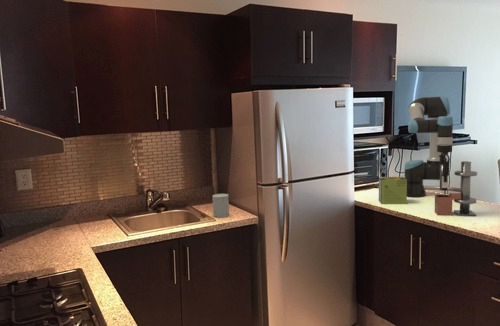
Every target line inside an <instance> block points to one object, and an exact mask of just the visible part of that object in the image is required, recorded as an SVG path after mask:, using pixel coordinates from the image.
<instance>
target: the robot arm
mask: <svg viewBox="0 0 500 326" xmlns="http://www.w3.org/2000/svg"><path fill="white" fill-rule="evenodd" d="M407 108H408V109H407V111H408V115H410V120H408V123H407V125H408V126H407V129H408V133H410V134H429V154H428V155H429V156H428V158H427V159H426V161H425V162H424V159H414V160H408V161H406V162H405V163H404V168H403V170H404V178H406V179H407V197H408V198H409V197H410V198H423V197H426V195H427V194H426V189H425V186H424V181H426V180H427V181H428V180H431V181H440V164H443V175H441V176H442V188H449V176H450V159H451V158H450V155H449V153H452V152H453V142H454V140H453V138H454V137H453V132H454V131H453V128H454V127H453V126H454V119H453V116H451V115H450V114H451V107H450V102H449V99H448V96H425V97H419V98H416V99H414V100H413V101H412V102H411V103H410V104H409V105H408V107H407ZM449 115H450V116H449ZM425 116H427V119H425Z"/></svg>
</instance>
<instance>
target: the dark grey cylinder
mask: <svg viewBox="0 0 500 326" xmlns="http://www.w3.org/2000/svg"><path fill="white" fill-rule="evenodd" d="M441 175H443V164H440V180H439V191H448V188H449V187H448V188H442V176H441Z"/></svg>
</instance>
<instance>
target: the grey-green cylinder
mask: <svg viewBox="0 0 500 326" xmlns="http://www.w3.org/2000/svg"><path fill="white" fill-rule="evenodd" d="M212 213H213V215H212V216H213V217H214V218H216V219H222V218H223V219H224V218H227V217H230V203H229V193H216V194H213V195H212Z"/></svg>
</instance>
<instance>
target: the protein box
mask: <svg viewBox="0 0 500 326" xmlns="http://www.w3.org/2000/svg"><path fill="white" fill-rule="evenodd" d="M407 197H408V196H407V179H406V178H405V176H382V177H381V176H378V201H379V203H380V205H407V204H408V203H407V202H408V199H407Z"/></svg>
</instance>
